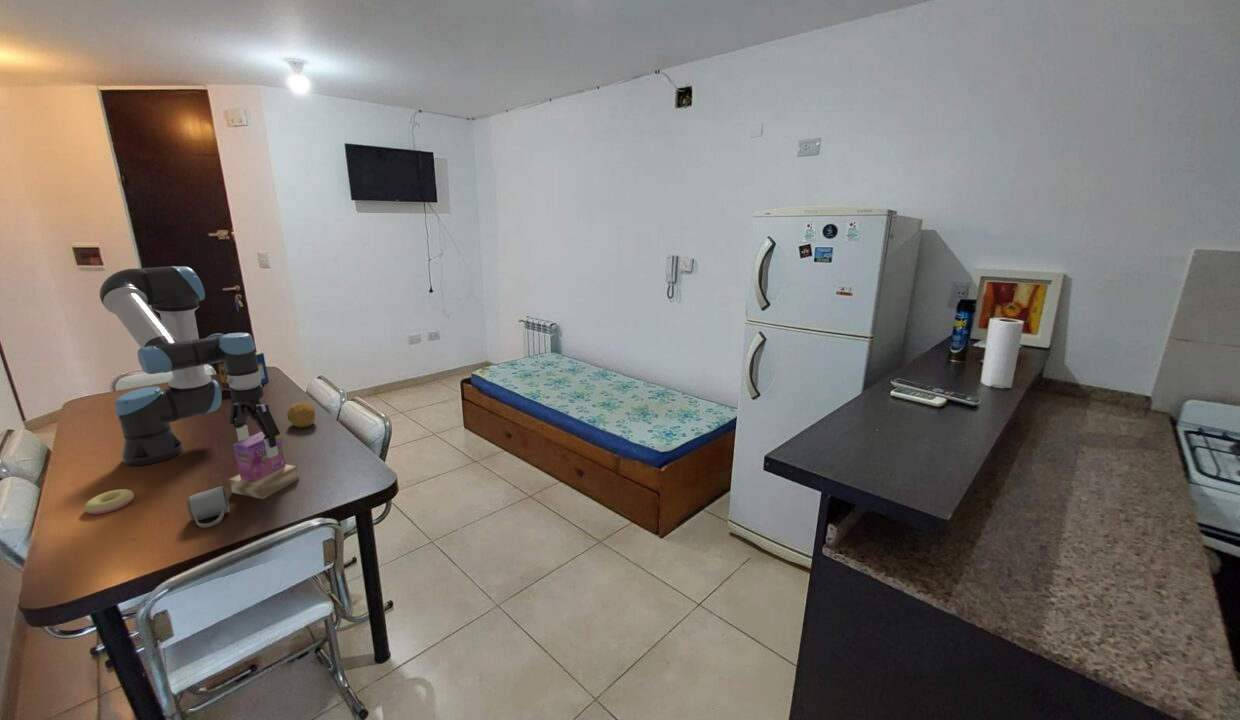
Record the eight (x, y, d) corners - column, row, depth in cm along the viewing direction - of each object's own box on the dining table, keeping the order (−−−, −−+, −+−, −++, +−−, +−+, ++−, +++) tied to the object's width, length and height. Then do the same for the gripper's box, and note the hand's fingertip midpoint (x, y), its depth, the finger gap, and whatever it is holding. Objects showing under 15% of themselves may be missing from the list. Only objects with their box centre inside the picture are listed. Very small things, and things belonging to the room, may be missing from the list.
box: (254, 482, 143) (247, 446, 140) (240, 478, 144) (232, 443, 141) (286, 465, 153) (280, 431, 149) (272, 462, 154) (265, 429, 151)
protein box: (222, 390, 227) (215, 359, 223) (251, 380, 242) (245, 350, 238) (241, 392, 226) (235, 360, 221) (269, 381, 240) (264, 352, 236)
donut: (142, 505, 142) (114, 498, 143) (143, 490, 142) (114, 483, 142) (104, 520, 132) (73, 513, 133) (105, 504, 132) (74, 497, 132)
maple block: (232, 493, 146) (229, 479, 144) (269, 474, 157) (266, 460, 155) (263, 500, 143) (260, 485, 141) (299, 480, 154) (296, 466, 152)
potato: (287, 411, 182) (315, 403, 188) (281, 403, 192) (307, 396, 198) (294, 434, 185) (321, 425, 191) (288, 424, 195) (314, 416, 200)
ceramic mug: (192, 514, 135) (185, 490, 132) (229, 504, 140) (223, 481, 137) (191, 533, 127) (184, 508, 124) (230, 522, 132) (224, 498, 130)
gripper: (206, 382, 142) (221, 447, 148) (258, 397, 132) (271, 466, 138) (234, 375, 148) (247, 437, 154) (286, 389, 139) (297, 455, 145)
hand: (259, 451), depth 146 cm, fingers open, 13 cm apart
